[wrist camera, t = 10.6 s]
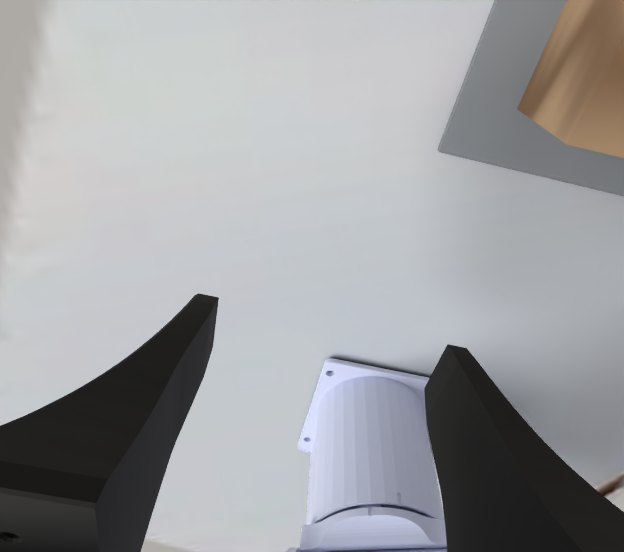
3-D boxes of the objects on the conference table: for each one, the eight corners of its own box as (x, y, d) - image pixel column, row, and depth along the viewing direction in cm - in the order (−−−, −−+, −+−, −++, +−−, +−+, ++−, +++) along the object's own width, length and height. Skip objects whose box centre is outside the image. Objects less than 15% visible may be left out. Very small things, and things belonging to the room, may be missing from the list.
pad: (635, 196, 21) (640, 200, 21) (437, 149, 20) (439, 152, 20) (809, -58, 16) (819, -59, 15) (546, -136, 15) (551, -138, 15)
